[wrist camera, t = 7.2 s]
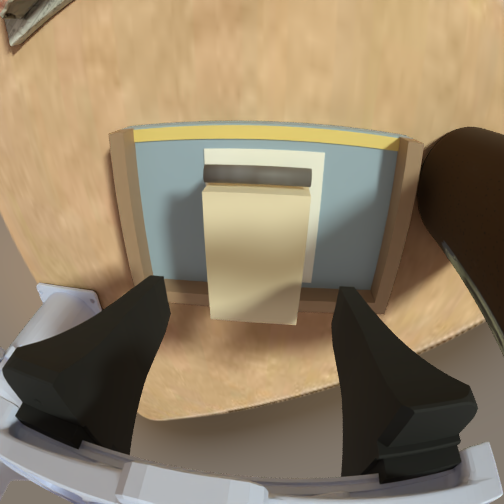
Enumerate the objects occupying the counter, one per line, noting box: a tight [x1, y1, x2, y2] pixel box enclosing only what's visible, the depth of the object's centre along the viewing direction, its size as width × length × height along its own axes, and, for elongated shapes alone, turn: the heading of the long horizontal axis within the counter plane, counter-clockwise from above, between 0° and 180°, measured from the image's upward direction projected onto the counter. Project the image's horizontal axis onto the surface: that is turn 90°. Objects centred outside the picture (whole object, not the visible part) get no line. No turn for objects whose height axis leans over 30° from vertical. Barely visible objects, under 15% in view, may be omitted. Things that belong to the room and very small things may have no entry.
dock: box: [109, 121, 424, 314], centre depth 19 cm, size 12×18×3 cm, turn 90°
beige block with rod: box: [202, 164, 312, 325], centre depth 17 cm, size 8×4×6 cm, turn 179°
